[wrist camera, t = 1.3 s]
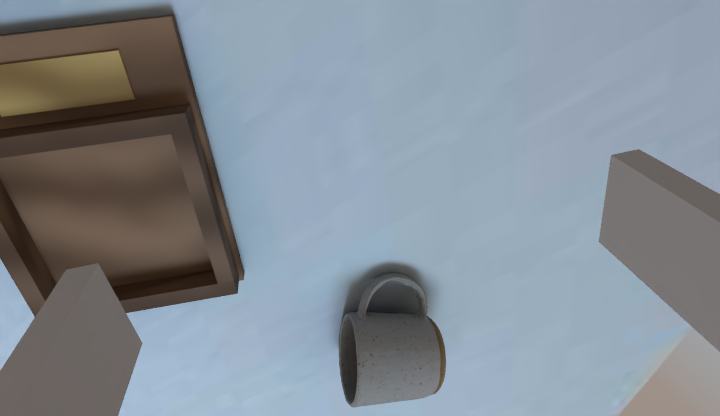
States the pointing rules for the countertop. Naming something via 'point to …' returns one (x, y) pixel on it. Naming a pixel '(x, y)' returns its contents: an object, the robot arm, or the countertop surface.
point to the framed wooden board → (110, 166)
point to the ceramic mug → (390, 351)
